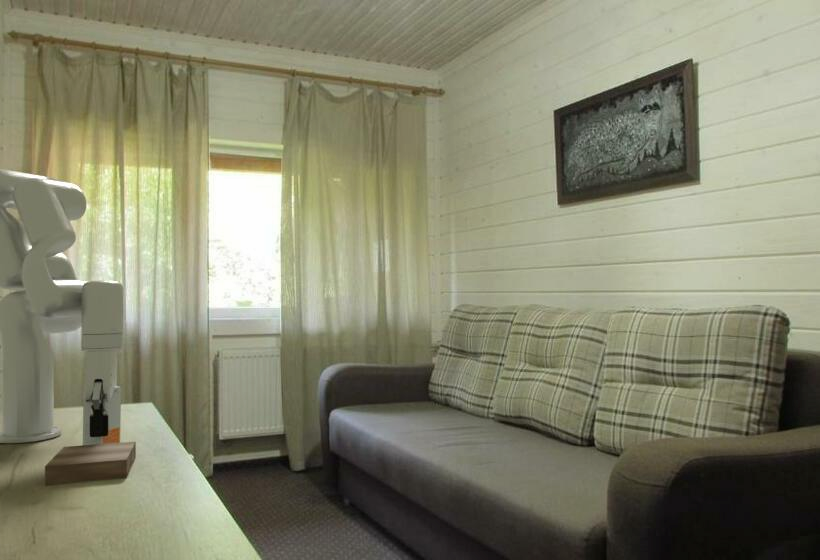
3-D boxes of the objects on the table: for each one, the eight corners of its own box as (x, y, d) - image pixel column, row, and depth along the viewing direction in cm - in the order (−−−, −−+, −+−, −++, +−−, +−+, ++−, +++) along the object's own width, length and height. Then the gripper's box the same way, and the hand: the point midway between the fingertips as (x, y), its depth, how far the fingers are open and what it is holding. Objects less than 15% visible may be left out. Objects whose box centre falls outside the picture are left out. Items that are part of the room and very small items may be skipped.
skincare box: (101, 452, 122) (101, 390, 123) (81, 451, 123) (82, 389, 124) (121, 445, 128) (121, 385, 129) (103, 444, 129) (103, 385, 130)
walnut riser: (63, 463, 115) (63, 446, 115) (135, 457, 118) (135, 441, 118) (44, 485, 101) (45, 466, 101) (126, 477, 105) (126, 459, 105)
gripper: (89, 340, 133) (89, 425, 133) (72, 346, 117) (72, 443, 117) (128, 339, 136) (127, 422, 135) (117, 345, 119) (117, 440, 119)
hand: (102, 431), depth 126 cm, fingers closed on skincare box, 7 cm apart
